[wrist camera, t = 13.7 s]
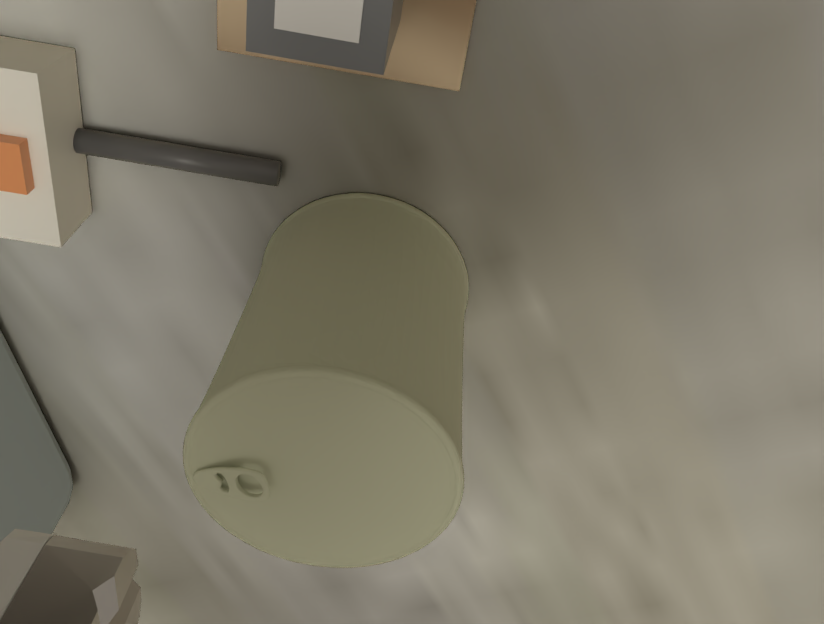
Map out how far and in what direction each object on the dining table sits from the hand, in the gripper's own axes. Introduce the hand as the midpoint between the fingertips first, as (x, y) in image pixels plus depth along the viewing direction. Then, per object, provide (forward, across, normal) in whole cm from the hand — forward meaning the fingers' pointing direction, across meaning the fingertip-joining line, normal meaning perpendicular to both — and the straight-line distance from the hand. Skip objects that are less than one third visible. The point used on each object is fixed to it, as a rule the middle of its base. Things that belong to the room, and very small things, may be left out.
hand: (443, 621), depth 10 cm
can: (+23, +3, +9) cm, 25 cm away
